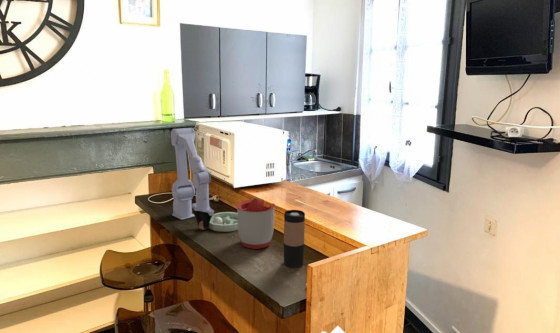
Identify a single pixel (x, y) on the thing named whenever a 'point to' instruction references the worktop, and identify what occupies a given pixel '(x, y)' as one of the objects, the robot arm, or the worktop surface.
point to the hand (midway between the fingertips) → (203, 226)
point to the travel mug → (294, 238)
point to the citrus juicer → (255, 223)
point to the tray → (224, 227)
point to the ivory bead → (218, 220)
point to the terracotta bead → (201, 225)
